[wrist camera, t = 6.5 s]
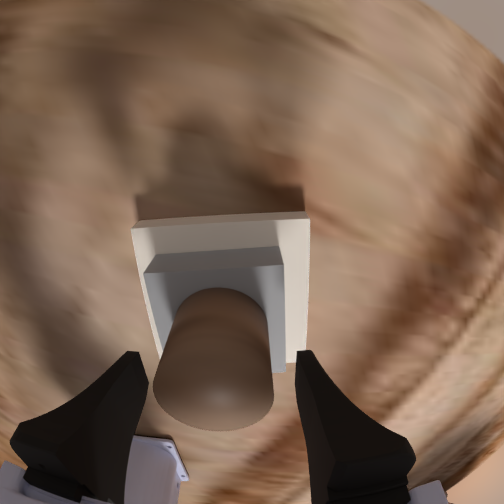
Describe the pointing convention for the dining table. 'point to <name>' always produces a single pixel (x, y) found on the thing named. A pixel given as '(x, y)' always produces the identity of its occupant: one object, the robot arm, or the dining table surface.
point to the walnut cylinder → (216, 362)
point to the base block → (237, 237)
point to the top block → (225, 276)
